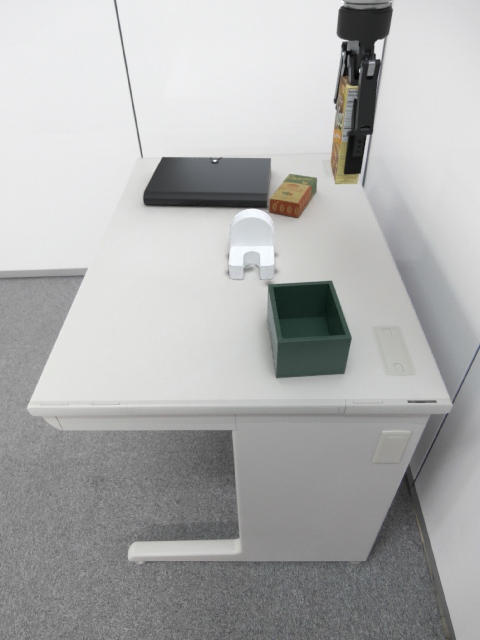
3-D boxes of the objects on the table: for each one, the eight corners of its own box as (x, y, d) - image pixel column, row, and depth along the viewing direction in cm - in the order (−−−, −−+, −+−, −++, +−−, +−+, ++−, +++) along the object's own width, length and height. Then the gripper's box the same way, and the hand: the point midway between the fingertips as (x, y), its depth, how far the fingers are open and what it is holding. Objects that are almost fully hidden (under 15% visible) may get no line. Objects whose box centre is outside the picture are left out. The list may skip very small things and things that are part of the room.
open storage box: (344, 373, 74) (352, 337, 68) (276, 378, 74) (277, 342, 68) (327, 315, 85) (332, 280, 79) (267, 319, 85) (267, 284, 79)
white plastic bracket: (272, 233, 107) (273, 192, 99) (274, 279, 94) (275, 235, 86) (233, 234, 107) (231, 193, 100) (229, 279, 94) (226, 236, 87)
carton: (268, 213, 114) (268, 197, 111) (288, 186, 125) (289, 172, 122) (299, 218, 112) (299, 203, 109) (316, 191, 122) (318, 176, 119)
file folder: (271, 156, 130) (267, 196, 113) (270, 169, 133) (266, 210, 116) (162, 155, 133) (141, 194, 116) (164, 168, 136) (144, 208, 119)
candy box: (329, 163, 82) (339, 71, 72) (352, 163, 82) (365, 71, 71) (334, 185, 75) (345, 87, 65) (359, 184, 75) (374, 86, 65)
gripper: (324, -5, 70) (313, 139, 85) (358, 18, 54) (337, 190, 69) (371, -7, 70) (352, 137, 85) (419, 15, 54) (384, 188, 69)
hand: (345, 161), depth 77 cm, fingers closed on candy box, 9 cm apart
